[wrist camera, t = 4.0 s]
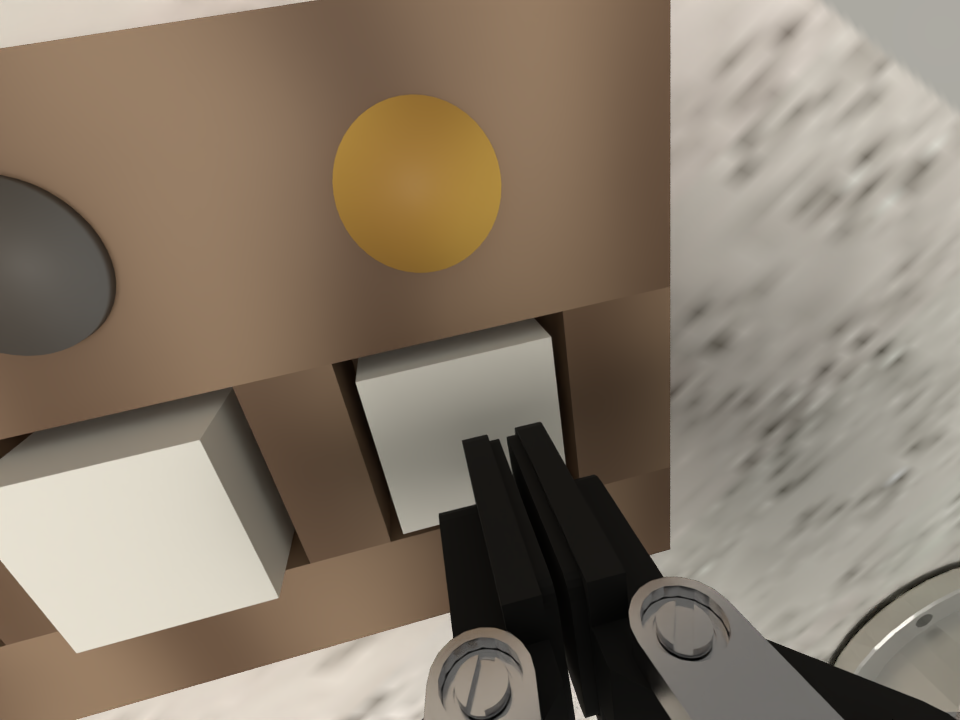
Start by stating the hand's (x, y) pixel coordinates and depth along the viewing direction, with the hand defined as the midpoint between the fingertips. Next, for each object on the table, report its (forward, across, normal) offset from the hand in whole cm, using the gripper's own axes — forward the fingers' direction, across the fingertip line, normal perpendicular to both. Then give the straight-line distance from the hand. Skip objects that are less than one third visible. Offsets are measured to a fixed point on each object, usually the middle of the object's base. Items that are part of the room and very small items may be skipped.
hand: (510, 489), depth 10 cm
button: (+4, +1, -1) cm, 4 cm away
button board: (+5, +8, -2) cm, 9 cm away
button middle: (+3, +8, -1) cm, 8 cm away
